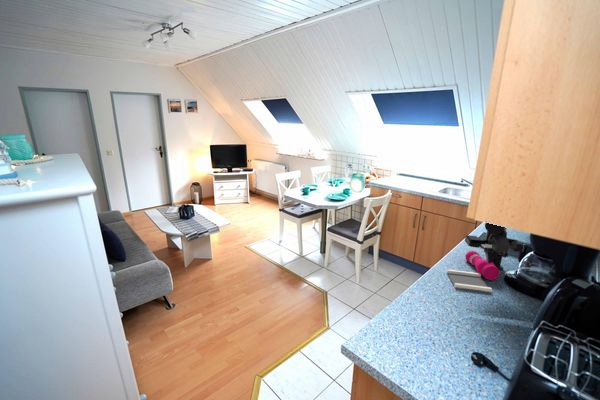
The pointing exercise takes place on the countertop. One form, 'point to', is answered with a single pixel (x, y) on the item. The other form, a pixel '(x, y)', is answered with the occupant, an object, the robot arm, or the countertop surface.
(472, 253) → the pepper mill
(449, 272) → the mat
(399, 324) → the countertop surface
